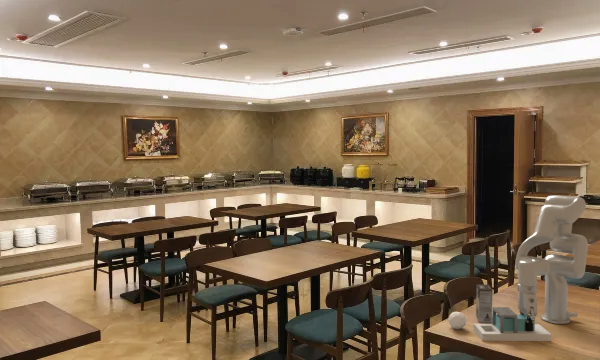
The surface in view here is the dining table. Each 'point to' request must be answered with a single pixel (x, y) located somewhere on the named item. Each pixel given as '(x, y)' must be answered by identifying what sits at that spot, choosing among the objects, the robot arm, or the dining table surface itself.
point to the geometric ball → (457, 320)
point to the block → (509, 323)
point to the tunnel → (503, 313)
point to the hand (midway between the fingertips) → (526, 328)
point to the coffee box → (484, 303)
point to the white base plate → (511, 334)
